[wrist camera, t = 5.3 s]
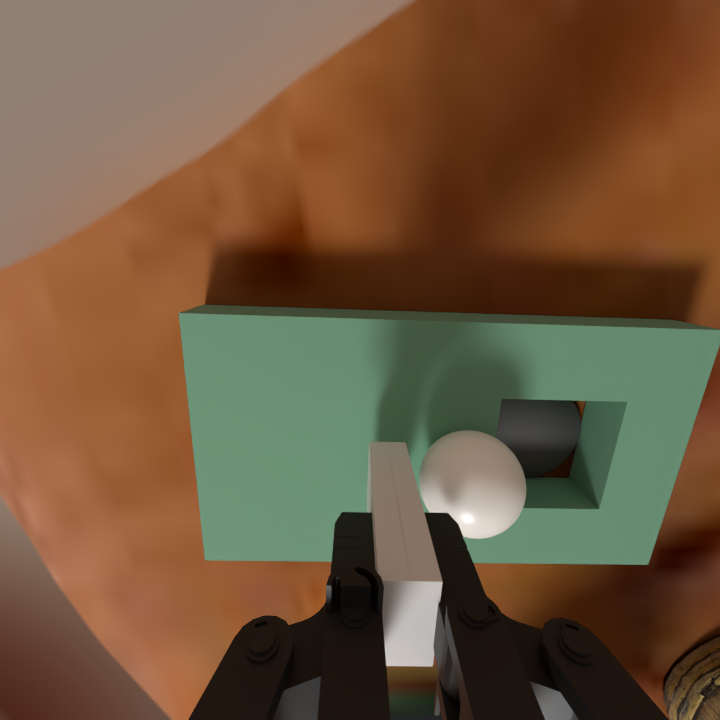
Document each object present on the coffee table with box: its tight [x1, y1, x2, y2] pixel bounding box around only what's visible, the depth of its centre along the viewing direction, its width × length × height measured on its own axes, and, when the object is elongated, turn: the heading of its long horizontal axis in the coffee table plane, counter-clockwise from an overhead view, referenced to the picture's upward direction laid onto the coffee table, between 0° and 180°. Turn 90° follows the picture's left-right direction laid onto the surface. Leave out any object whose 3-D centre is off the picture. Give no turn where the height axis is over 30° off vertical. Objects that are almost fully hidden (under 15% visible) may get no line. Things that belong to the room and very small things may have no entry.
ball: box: [419, 430, 526, 539], centre depth 14 cm, size 4×4×4 cm
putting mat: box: [179, 305, 720, 565], centre depth 17 cm, size 22×12×2 cm, turn 88°
